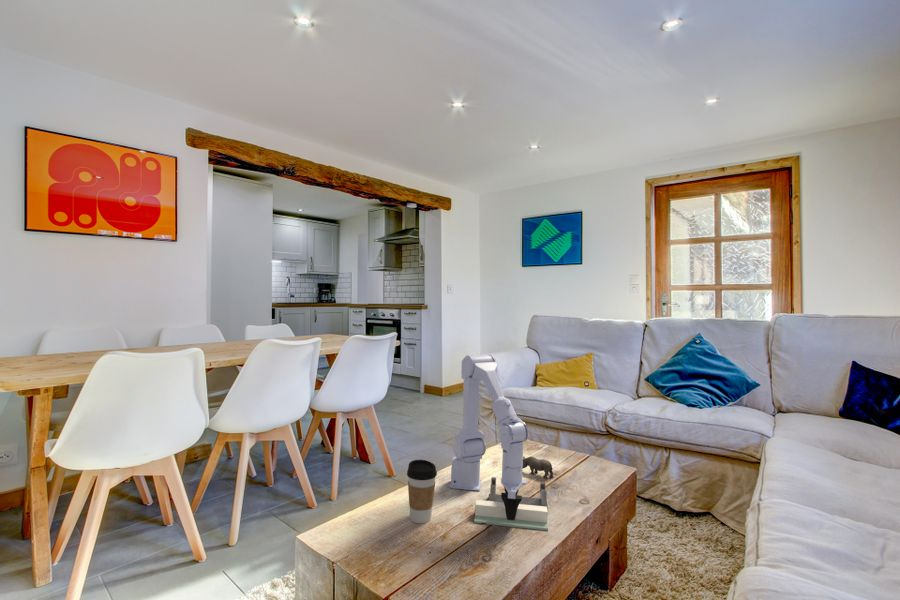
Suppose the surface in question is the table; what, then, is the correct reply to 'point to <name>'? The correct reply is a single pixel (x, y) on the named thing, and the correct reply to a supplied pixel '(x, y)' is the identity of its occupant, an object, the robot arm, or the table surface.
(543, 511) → the rail
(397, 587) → the table surface
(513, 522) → the mat
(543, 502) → the rack
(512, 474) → the robot arm
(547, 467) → the rhino figurine
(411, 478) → the coffee cup
